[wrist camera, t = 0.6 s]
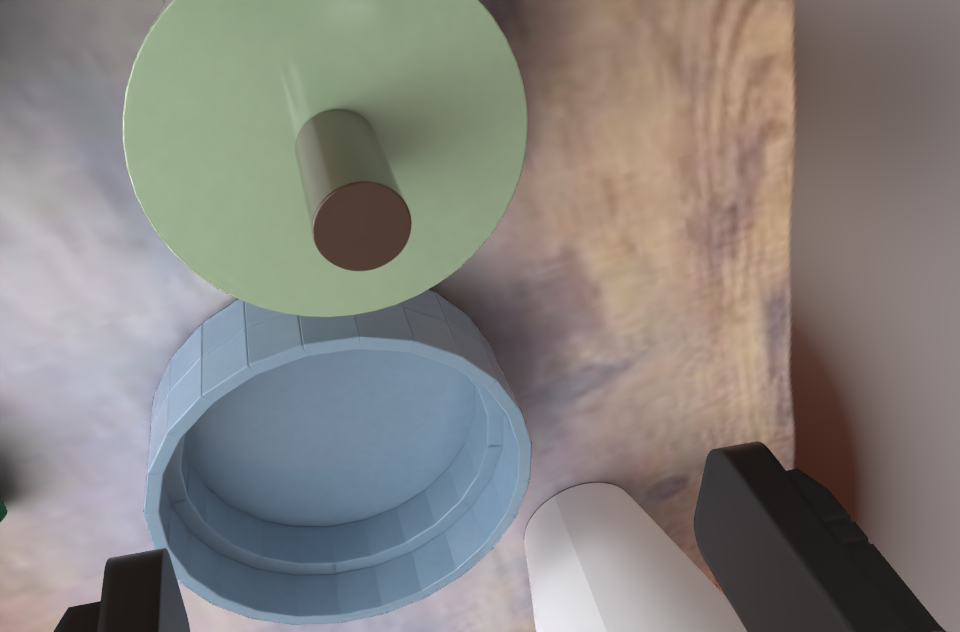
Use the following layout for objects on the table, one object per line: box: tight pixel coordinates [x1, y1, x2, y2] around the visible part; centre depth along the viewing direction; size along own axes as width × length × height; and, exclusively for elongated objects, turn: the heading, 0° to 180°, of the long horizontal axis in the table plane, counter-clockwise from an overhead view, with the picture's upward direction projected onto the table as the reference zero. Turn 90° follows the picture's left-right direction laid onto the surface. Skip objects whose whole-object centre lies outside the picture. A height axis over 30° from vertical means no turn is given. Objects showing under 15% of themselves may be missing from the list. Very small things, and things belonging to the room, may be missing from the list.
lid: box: [123, 0, 528, 317], centre depth 23 cm, size 11×11×6 cm
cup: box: [524, 483, 747, 632], centre depth 45 cm, size 12×12×12 cm
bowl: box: [143, 290, 532, 625], centre depth 39 cm, size 16×16×6 cm
